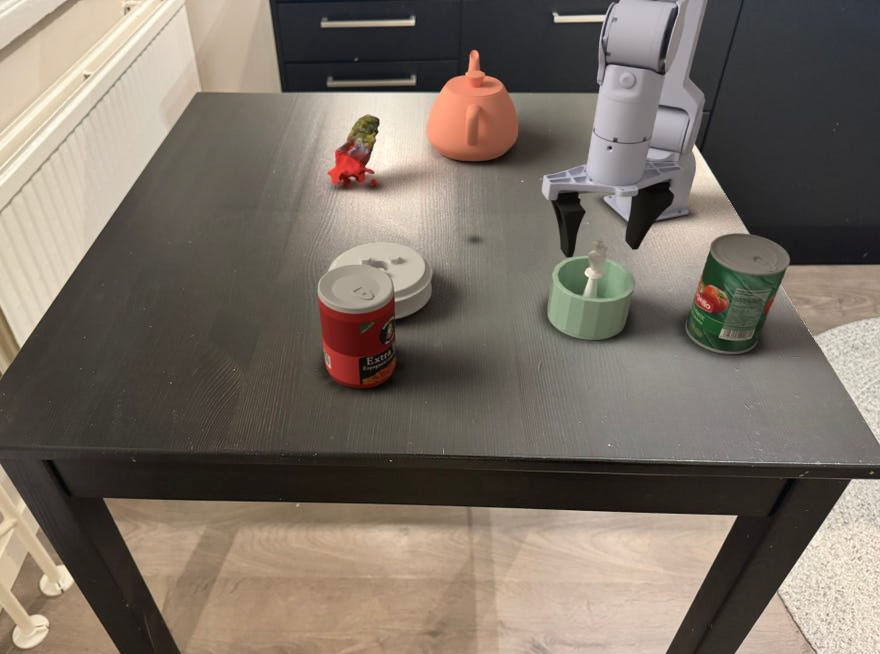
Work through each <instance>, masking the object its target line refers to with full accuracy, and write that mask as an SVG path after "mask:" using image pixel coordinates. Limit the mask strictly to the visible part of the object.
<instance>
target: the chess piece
mask: <svg viewBox="0 0 880 654" xmlns="http://www.w3.org/2000/svg"><path fill="white" fill-rule="evenodd" d="M604 241H605V240H604V239H603V238H599V239H598V240H597V241H596V240H594V241H593V242H592V243H591V247H593V248H595V249H594V250H591V251H589V252H588V255H587V256H589V261H590V267H589V268H587V269H586V271H585V275H586V276H587V277H589V279H588V283H587V285H586V288H585V291H584V294H583V297H586V298H595V299H598V298H597V281H598V279H600V278H602V277H603V276H604V272H603V270H602V269H600V268H601V267H602V265H603V263H604V262H605V260H606V258H607V259H608V255H607V254H606V253H605V252H607V250H608V246H606V245H604Z"/></svg>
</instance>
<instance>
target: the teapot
mask: <svg viewBox="0 0 880 654" xmlns="http://www.w3.org/2000/svg"><path fill="white" fill-rule="evenodd" d="M426 136H427V140H428V141H429V143H430V144H431V145H432V147H433V148H434V149H435V150H436V152H438V153H439V154H440V155H442V156H443V157H446V158H449V159H452V160H457V161H464V162H482V161H483V162H484V161H490V160H494V159H497V158H499V157H502V156H503V155H504V154H505V153H507V152H508V151H509V150H510V149H511V148H512V147H513V146H514V145H515V143H516V141H517V139H518V137H519V120H518V115H517V111H516V107H515V105H514V103H513V100H512V98H511V96H510V94H509V92H508V90H507V88H506V87H505V84H504V83H503V82H502V81H501V80H500V79H497V78H496V77H492V76H490V75H486V73H485V72H484V71H481V65H480V54H479V51H478V50H476V49H472V50H471V51H470V53H469V63H468V70H467V71H466V72H465V75H459V76H455V77H452V78H450V79H449V80H448V81H447V82H446V83H445V85H443V87H442V89H441V90H440V92H439V93H438V95H437V96H436V99H435V100H434V102H433V104H432V106H431V109H430V111H429V114H428V118H427V124H426Z"/></svg>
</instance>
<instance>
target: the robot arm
mask: <svg viewBox="0 0 880 654" xmlns="http://www.w3.org/2000/svg"><path fill="white" fill-rule="evenodd" d="M707 5H708V0H619V2H618V3H617V2H615V1H614V2H611V3H610V4H609V6H608V7H607V8H608V9H607V11H606V13H605V16H604V19H603V22H602V26H601V31H600V36H599V44H598V45H599V46H598V70H597V76H596V80H597V81H596V84H598V85H599V89H598V95H597V101H596V107H595V113H594V119H593V125H592V131H591V137H590V143H589V151H588V155H587V162H586V163H585V164H581V165H578V166H575V167H572V168H569V169H566V170H562V171H559V172H556V173H551V174H544V175H543V177H542V178H543V179H542V186H541V193H542V195H543V197H545V199H546V200H547V201H548V202H549V201H550V202H551V205H552V208H553V211H554V214H555V218H556V222H557V227H558V234H559V245H560V246H559V247H560V250H561V253H562V254H563V255H564V257H565V258H566V259H569V258H571V257H574V254H575V251H576V244H577V240H578V239H577V238H578V233H579V230H580V226H581V224H582V221H583V218H584V216H585V215H586V213H587V211H586V209H585V208H584V207H583V206H582V204H581V198H579V196H580V195H584V194H595V193H603V194H604V193H605V194H611V195H605V196H604V197H603V201H604V202H605V203H606V204H607V205H608V206H610V207H611V208H612V209H613V210H614V211H615V212H616V213H617V214H618V215H620V217H621V218H623V219H624V220H625V221H626V222H627V225H626V228H625V236H624V242H626V244H627V245H628V246H629V248H630V249H631V250H632V251H635V250H637V251H638V250H639V248H640V246H641V244H642V243H643V241H644V239H645V237H646V236H647V234H648V232H649V231H650V229H651V228H652V226H653V225H654V224H655V222H656V221H662V220H666V219H670V218H671V219H672V218H675V217H681V216H686V215H688V214H689V213H690V210H689V209H687V205H688V202H689V197H690V194H691V190H692V187H693V184H694V180H695V176H696V172H697V162H696V156H695V154H694V152H693V150H694V146H695V144H696V140H697V137H698V135H699V131H700V128H701V124H702V120H703V114H704V107H705V103H706V99H705V94H704V92H703V91H702V90H701V89H700V88H699V87H698V86H697V85H696V84H695V83H694V82H693V80H691V78H690V73H691V69H692V65H693V62H694V56H695V52H696V49H697V44H698V41H699V37H700V32H701V30H702V29H701V28H702V25H703V21H704V17H705V12H706V8H707Z"/></svg>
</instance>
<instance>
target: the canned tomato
mask: <svg viewBox="0 0 880 654" xmlns="http://www.w3.org/2000/svg"><path fill="white" fill-rule="evenodd" d="M790 263H791V258H790V255H789V253H788V251H787V250H786V249H785V248H784V247H783V246H781V245H780V244H778V243H776V242H775V241H773V240H770V239H768V238H766V237H763V236H759V235H755V234H751V233H743V232H741V233H740V232H739V233H738V232H735V233H727V234H722V235H720V236H718V237H716V238H715V239H713V241H712V242H711V243H710V247H709V251H708V254H707V257H706V259H705V263H704V265H703V266H704V267H703V269H702V273H701V275H700V280H699V281H698V285H697V288H696V291H695V295H694V297H693V301H692V304H691V307H690V310H689V314H688V317H687V319H686V321H685V325H684V327H685V332H686V335H687V336H688V337H689V338H690V340H692V342H694V343H695V344H697V346H700V348H703V349H705V350H707V351H709V352H713V353H717V354H721V355H740V354H744V353H748V352H750V351H751V350H753V349H754V348H755V347H756V345H757V344H758V339H759V337H760V335H761V333H762V330H763V327H764V325H765V323H766V321H767V318H768V315H769V314H770V310H771V308H772V306H773V304H774V301H775V298H776V296H777V294H778V292H779V289H780V286H781V284H782V282H783V279H784V277H785V274H786V272H787V269H788V267H789V266H790Z"/></svg>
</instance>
